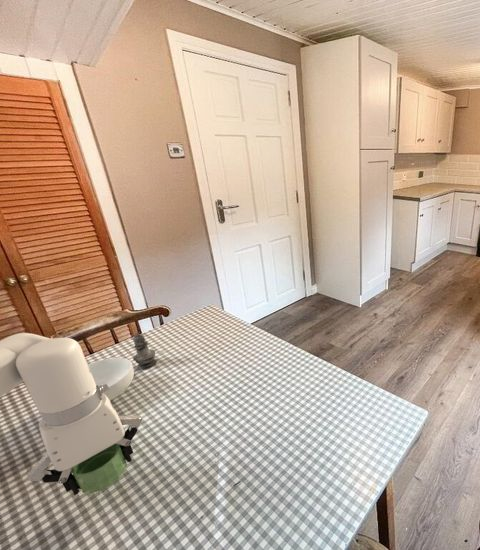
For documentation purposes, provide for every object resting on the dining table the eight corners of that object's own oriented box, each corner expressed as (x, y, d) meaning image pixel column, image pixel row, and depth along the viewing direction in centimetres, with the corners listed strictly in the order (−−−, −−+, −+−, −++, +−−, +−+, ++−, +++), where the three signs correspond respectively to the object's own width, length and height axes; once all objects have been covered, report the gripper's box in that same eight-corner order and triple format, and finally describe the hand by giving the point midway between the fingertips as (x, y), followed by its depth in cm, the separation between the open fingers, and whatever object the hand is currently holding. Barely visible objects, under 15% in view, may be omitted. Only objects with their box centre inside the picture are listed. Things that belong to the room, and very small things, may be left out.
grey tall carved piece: (141, 372, 94) (130, 339, 89) (132, 366, 97) (121, 334, 92) (161, 362, 99) (152, 330, 94) (152, 356, 101) (142, 325, 97)
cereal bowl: (119, 369, 95) (112, 351, 92) (151, 386, 88) (144, 366, 86) (48, 407, 81) (37, 386, 78) (80, 430, 74) (69, 409, 72)
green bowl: (72, 501, 56) (61, 481, 54) (89, 465, 62) (80, 446, 60) (120, 487, 58) (111, 467, 56) (132, 454, 65) (125, 435, 63)
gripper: (125, 370, 62) (147, 433, 69) (-4, 424, 49) (38, 495, 56) (137, 387, 58) (159, 453, 64) (-1, 451, 45) (44, 524, 52)
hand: (102, 472), depth 60 cm, fingers closed on green bowl, 7 cm apart
